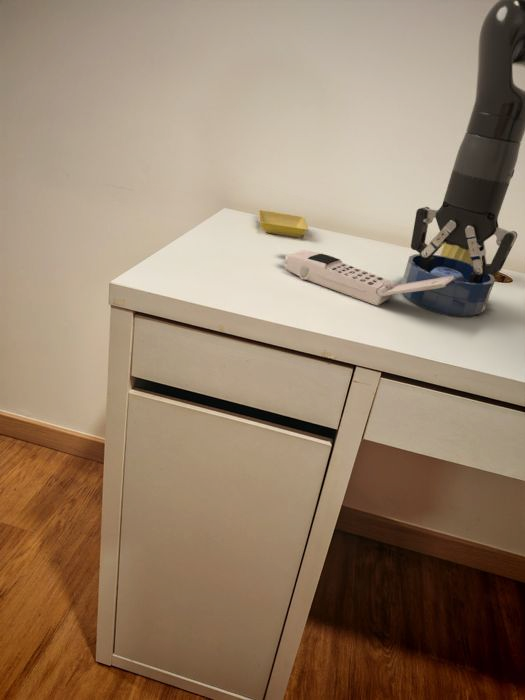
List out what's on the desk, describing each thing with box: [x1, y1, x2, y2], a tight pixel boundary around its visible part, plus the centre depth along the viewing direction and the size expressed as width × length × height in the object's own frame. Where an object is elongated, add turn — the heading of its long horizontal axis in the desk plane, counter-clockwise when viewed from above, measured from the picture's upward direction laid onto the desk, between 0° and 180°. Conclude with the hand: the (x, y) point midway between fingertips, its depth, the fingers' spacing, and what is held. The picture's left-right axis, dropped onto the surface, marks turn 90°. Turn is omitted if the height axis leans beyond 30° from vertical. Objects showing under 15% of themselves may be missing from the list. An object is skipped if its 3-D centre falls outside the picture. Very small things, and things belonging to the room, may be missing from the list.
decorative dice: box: [430, 267, 465, 282], centre depth 85 cm, size 4×4×4 cm
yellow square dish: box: [258, 209, 309, 238], centre depth 106 cm, size 9×9×2 cm
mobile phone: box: [283, 249, 455, 306], centre depth 82 cm, size 6×6×25 cm
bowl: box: [401, 253, 496, 317], centre depth 85 cm, size 12×12×5 cm
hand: (444, 289), depth 85 cm, fingers open, 6 cm apart
